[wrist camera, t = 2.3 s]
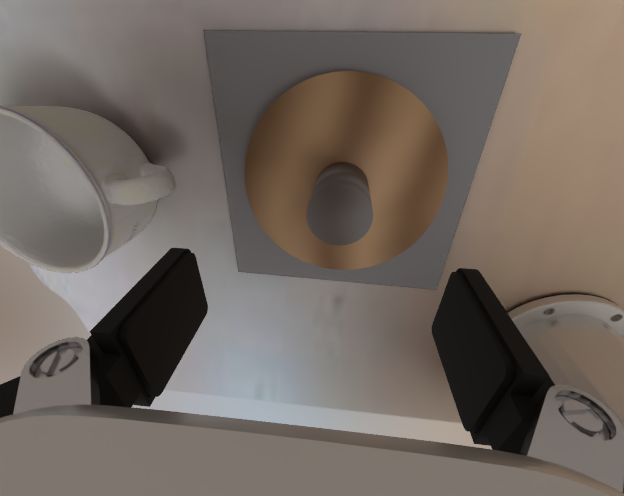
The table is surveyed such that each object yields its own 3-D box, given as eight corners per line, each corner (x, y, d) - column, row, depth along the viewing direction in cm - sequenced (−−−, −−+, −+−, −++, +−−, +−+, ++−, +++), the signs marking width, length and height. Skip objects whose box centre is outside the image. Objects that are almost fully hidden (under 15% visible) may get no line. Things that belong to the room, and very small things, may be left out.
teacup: (78, 216, 27) (-13, 263, 20) (27, 89, 21) (-123, 95, 15) (216, 235, 26) (170, 289, 20) (202, 108, 21) (129, 123, 14)
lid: (473, 74, 17) (524, 72, 12) (418, 270, 25) (436, 319, 20) (238, 68, 19) (195, 65, 13) (256, 256, 26) (234, 299, 21)
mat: (516, 34, 16) (521, 33, 16) (434, 286, 26) (436, 289, 26) (207, 31, 18) (203, 30, 18) (240, 268, 28) (238, 271, 28)
